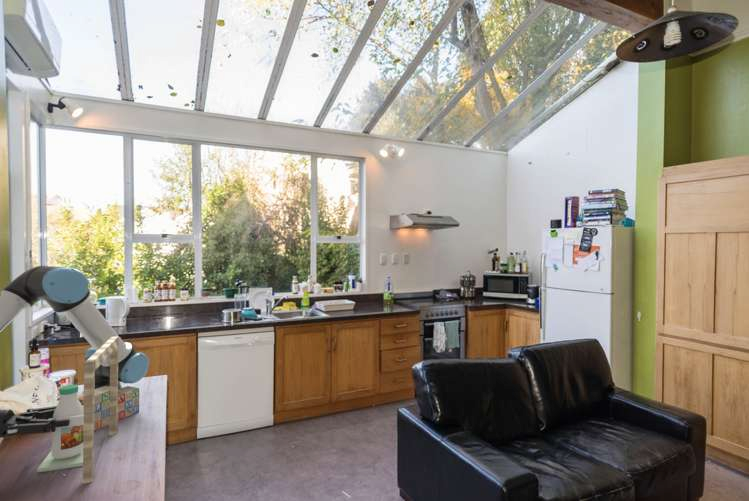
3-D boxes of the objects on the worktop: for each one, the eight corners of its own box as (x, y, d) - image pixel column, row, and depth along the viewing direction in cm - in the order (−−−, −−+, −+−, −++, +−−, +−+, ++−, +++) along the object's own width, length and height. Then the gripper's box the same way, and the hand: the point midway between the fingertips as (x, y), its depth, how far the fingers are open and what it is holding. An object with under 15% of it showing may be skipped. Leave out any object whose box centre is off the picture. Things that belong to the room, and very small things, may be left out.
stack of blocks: (127, 409, 162) (128, 378, 162) (139, 411, 160) (140, 380, 159) (71, 432, 142) (71, 396, 142) (83, 435, 140) (84, 399, 139)
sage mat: (51, 453, 127) (51, 450, 127) (93, 448, 131) (93, 444, 131) (37, 472, 117) (37, 469, 117) (83, 465, 121) (83, 462, 121)
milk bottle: (47, 461, 119) (48, 392, 119) (56, 449, 126) (57, 384, 126) (80, 456, 122) (81, 389, 122) (86, 445, 129) (87, 381, 129)
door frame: (110, 432, 142) (111, 336, 141) (117, 431, 142) (118, 336, 142) (82, 484, 112) (84, 362, 111) (91, 482, 113) (92, 362, 112)
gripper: (8, 423, 127) (96, 413, 135) (-28, 455, 108) (77, 441, 116) (8, 398, 127) (96, 390, 135) (-28, 426, 108) (77, 415, 116)
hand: (87, 414), depth 125 cm, fingers closed on milk bottle, 7 cm apart
